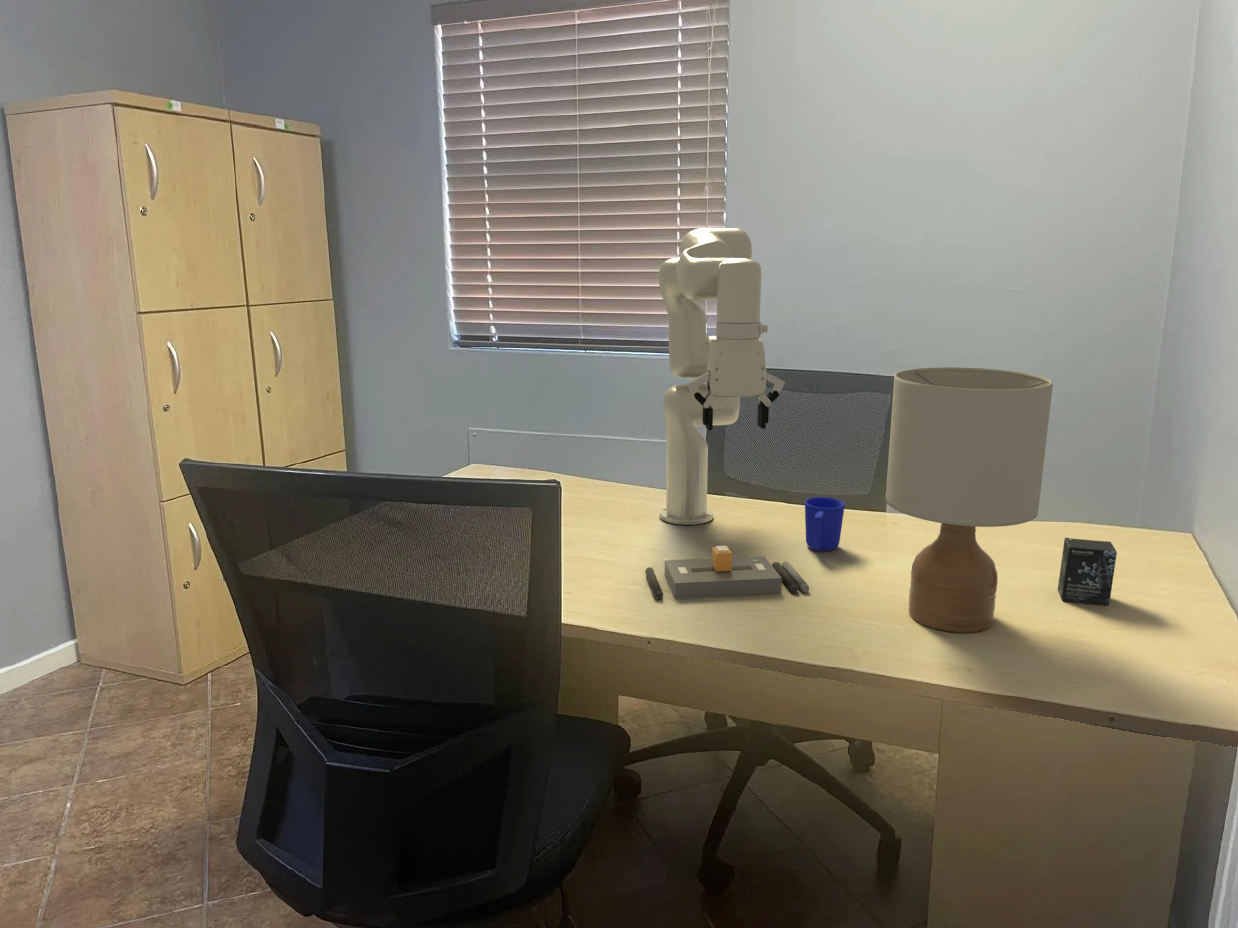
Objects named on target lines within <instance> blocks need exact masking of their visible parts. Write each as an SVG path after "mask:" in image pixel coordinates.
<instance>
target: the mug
mask: <svg viewBox="0 0 1238 928" xmlns="http://www.w3.org/2000/svg"><path fill="white" fill-rule="evenodd" d="M845 505H846V504H845V502H844V501H842V500H840V499H838V498H833V497H823V496H822V497H821V496H819V497H818V496H817V497H815V496H814V497H810V498H807V499H806V500H804V514H805V515H804V517H805V519H804V520H805V521H804V523H805V542H806V545H807V546H808V547H809V549H812V550H814V551H818V552H819V551H820V552H831V551H834V550H836V549H837V548H838V547H839V546H840V540H841V534H842V528H843V527H842V526H843V521H844V520H843V519H844V512H845Z"/></svg>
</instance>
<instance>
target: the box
mask: <svg viewBox="0 0 1238 928" xmlns="http://www.w3.org/2000/svg"><path fill="white" fill-rule="evenodd" d="M1063 541H1064V542H1063V548H1062V556H1061V563H1060V570H1059V571H1060V572H1059V577H1058V585H1057V591H1058V594H1059V597H1060V599H1061V601H1063V602H1073V603H1082V604H1083V603H1084V604H1092V605H1102V606H1107V607H1108V606H1110V602H1111V595H1112V587H1113V582H1114V581H1113V580H1114V574H1115V567H1116V560H1117V554H1118V551H1117V549H1116V548H1115V546H1114V545H1113V543H1112V541H1108V540H1107V541H1105V540H1094V539H1093V540H1092V539H1080V538H1071V537H1064V540H1063Z"/></svg>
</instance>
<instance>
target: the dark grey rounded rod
mask: <svg viewBox="0 0 1238 928" xmlns="http://www.w3.org/2000/svg"><path fill="white" fill-rule="evenodd" d="M645 574H646V578H647V580H648V583H649V584H650V588H651V590H652V593H653V595H654V598H655V599H656V600H661V599H663V598H664V592H663V590H662V588H661V585H660V582H659V580H658V578H657V576H656V573H655V570H654V569H653V567H647V568H646V569H645Z"/></svg>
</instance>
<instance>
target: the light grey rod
mask: <svg viewBox="0 0 1238 928" xmlns="http://www.w3.org/2000/svg"><path fill="white" fill-rule="evenodd" d="M781 566H782V567H783V568H784V569H785V571H786V572H787V573H788V574H789V576H790V577H791V578H792V579H793V581H794V582H795V583H796V584H797V586H798V587H799V590H800V591H801V592H803V593H808V592H809V590H810V586H809V584H808V583H807V582H806V581H805V580H804V579H803V577H802V576H801V575H800V574H799V573H798V571H797V569H796V568H794V566H792V564H791V563H790V562H789V561H786V560H785V561H783V562H782V564H781Z"/></svg>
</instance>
